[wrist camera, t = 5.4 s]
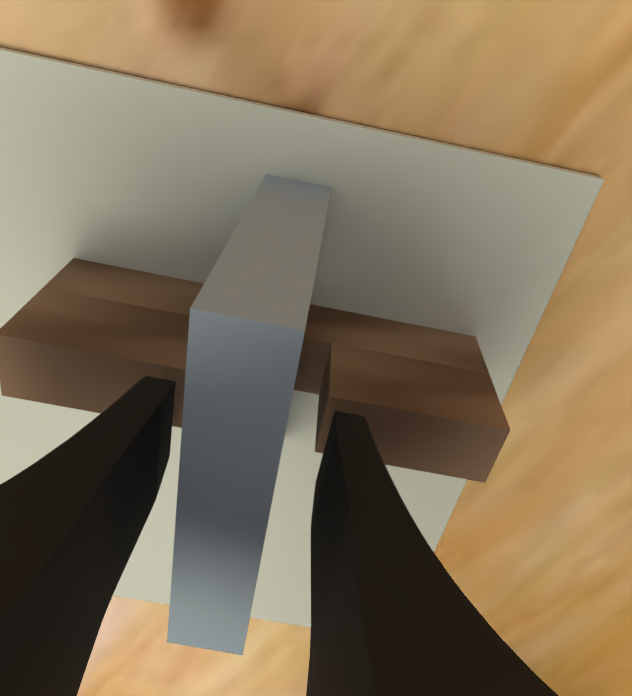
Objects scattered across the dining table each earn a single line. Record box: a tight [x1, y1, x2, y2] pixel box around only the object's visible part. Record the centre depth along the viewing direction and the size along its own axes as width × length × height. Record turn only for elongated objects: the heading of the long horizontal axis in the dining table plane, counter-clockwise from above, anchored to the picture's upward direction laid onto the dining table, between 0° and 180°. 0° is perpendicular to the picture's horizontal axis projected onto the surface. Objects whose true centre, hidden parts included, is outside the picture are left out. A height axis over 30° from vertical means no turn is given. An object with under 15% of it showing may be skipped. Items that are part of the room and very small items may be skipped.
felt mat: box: [0, 47, 604, 627], centre depth 18 cm, size 16×19×1 cm
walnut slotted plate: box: [0, 258, 510, 483], centre depth 14 cm, size 11×2×4 cm, turn 79°
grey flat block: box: [167, 175, 331, 655], centre depth 13 cm, size 2×8×7 cm, turn 170°
